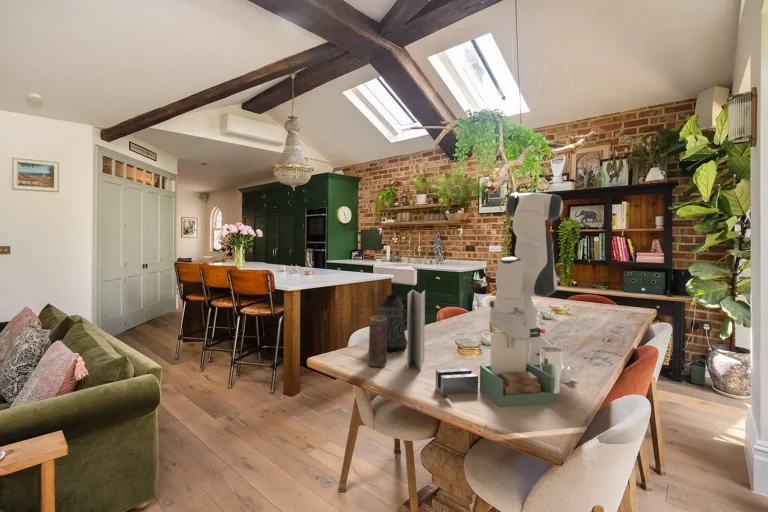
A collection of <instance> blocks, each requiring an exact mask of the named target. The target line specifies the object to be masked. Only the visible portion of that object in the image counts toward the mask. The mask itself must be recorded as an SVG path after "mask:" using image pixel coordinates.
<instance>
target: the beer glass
mask: <svg viewBox="0 0 768 512" xmlns="http://www.w3.org/2000/svg"><path fill="white" fill-rule="evenodd" d="M563 357H564V356H563V348H560V347H556V346H553V347H550V346H545V347H541V353H540V365H539V369H541V370H543V371H544V372H546V373H548V374H550V375H551V376H553V377H554V395H558V394H560V393H561V388H560V383H561V382H560V377H561V373H562V367H563V365H564V363H563V362H564V359H563Z"/></svg>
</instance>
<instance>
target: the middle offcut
mask: <svg viewBox="0 0 768 512" xmlns="http://www.w3.org/2000/svg"><path fill="white" fill-rule="evenodd" d="M530 393H541V385H540V384H538V385H537V386H522V387H507V386H506V385H505V384H503V394H504V395H516V394H530Z"/></svg>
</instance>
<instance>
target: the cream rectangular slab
mask: <svg viewBox="0 0 768 512" xmlns="http://www.w3.org/2000/svg"><path fill="white" fill-rule="evenodd" d="M509 339H510V338H509V335H508V334H506V333H501V332H500V333H499V332H498V333H490V360H489V361H490V364H489V365H490V371H491V372H493V373H494V374H499V373H507V372H524V371H526V340H518V339H516V342H515V346H514V348H513V349H510V348H508V347H507V342H509Z"/></svg>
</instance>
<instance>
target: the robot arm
mask: <svg viewBox="0 0 768 512" xmlns="http://www.w3.org/2000/svg"><path fill="white" fill-rule="evenodd" d="M504 205H505V206H504V208H505V211H506V214H507V216H508V217H510V218H513V220H512V232H513V234H514V235H515V236H516V243H515V248H514V255H515V256H506V257H505V256H504V257H501V258H499V259H498V261H497V264H496V265H497V266H496V272H495V285H496V293H495V299H492V300H490V301H489V303H488V304H489V308H490V309H489V322H490V323H489V324H490V326H491V328H494V329H496V330H497V331H500V333H506V334H508V335H509V338H510V339H509V342H507V347H508V348H510V349H513V348H514V346H515V342H516V339H518V340H526V363H530V364H532V365H534V366H538V365H539V366H540V353H541V347H545V346H550V347H554V345H553V344H552V343H550V342H549V340H547V339H545V338H544V337H543V336H542V335H541V334H544V335H545V333H546V329H545V328H542V327H541V328H540V327H538V309H537V306H536V305H535V304H534V301H533V298H532V297H534V298H535V297H542V298H543V297H544V298H547V297H549V296H551V295H552V294H554V293H556V291H557V288H558V277H557V272H556V262H555V249H554V248H555V247H554V240H553V235H552V231H551V230H550V229H549V228H547V227H546V221H548V223H547V224H549V225H550V224H551V223H552V222H553V221H554V222H555V221H556V220H558V219H559V218H560V216H561V214H562V212H563V210H564V202H563V200H562V197H561V196H560V195H558V194H554V193H552V194H551V193H550V194H549V193H544V192H521V193H519V192H513V193H511V194H510V195H508V197H507V199H506V201H505V204H504Z"/></svg>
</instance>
